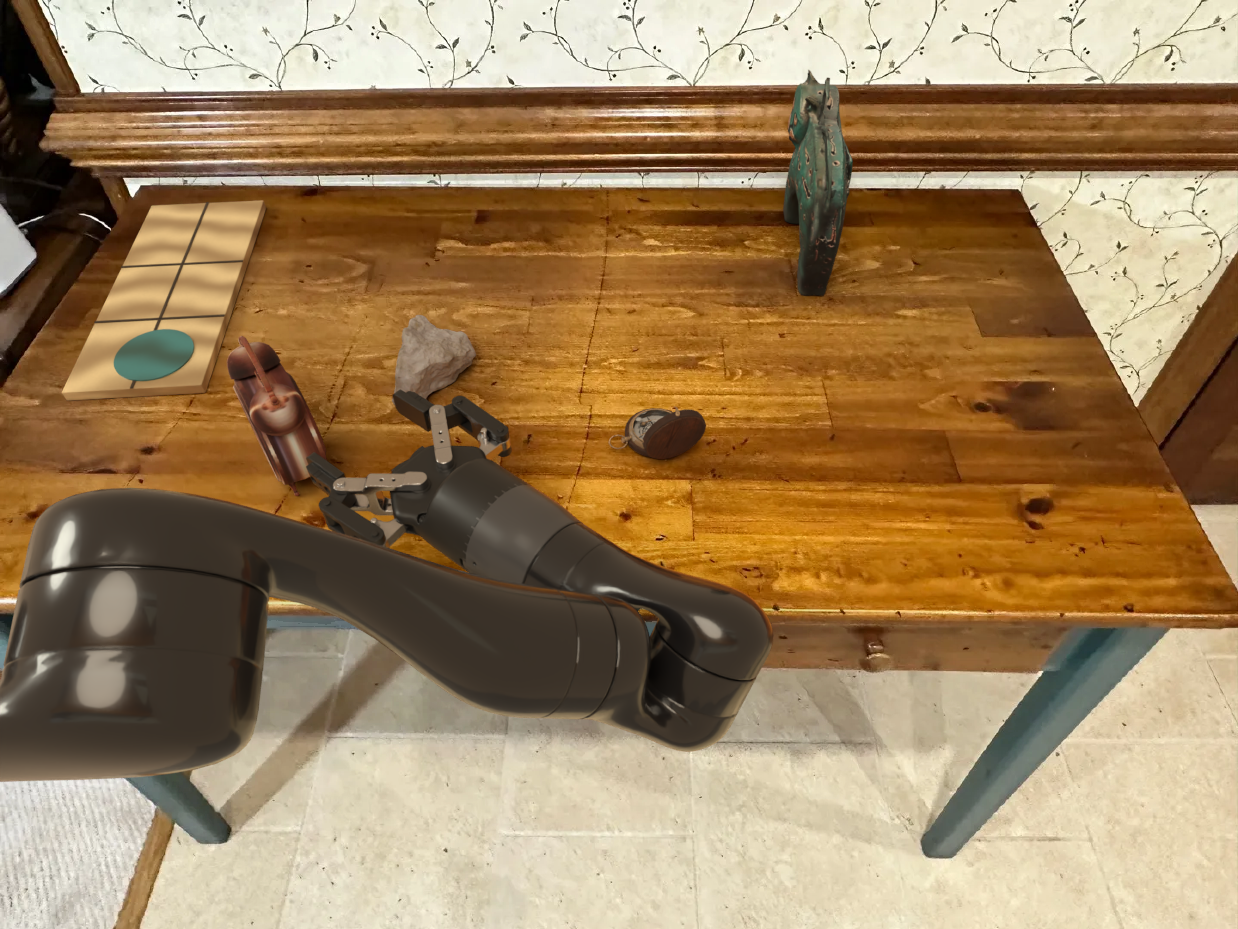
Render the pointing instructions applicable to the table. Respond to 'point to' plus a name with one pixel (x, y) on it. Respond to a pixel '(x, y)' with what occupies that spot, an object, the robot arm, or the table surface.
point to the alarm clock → (275, 410)
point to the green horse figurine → (817, 181)
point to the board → (169, 303)
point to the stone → (430, 357)
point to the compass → (663, 432)
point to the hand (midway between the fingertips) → (355, 430)
